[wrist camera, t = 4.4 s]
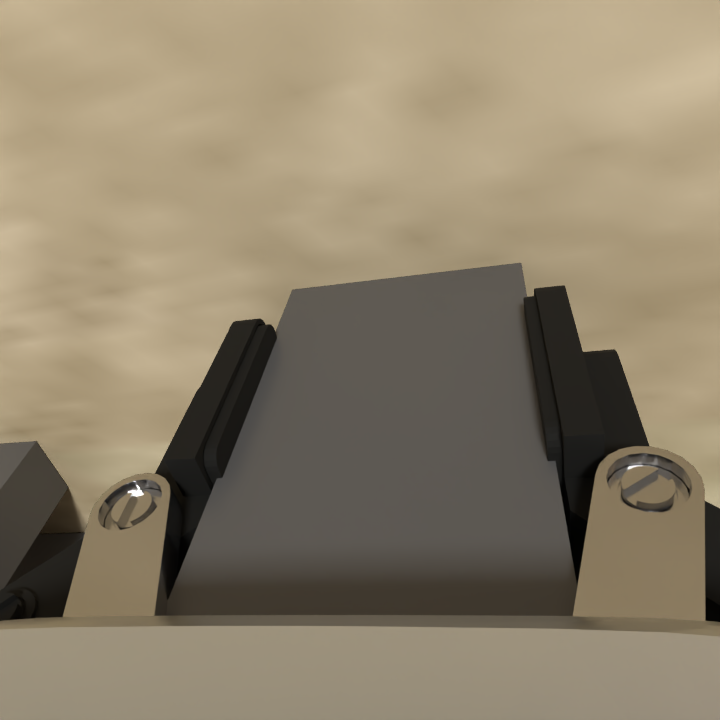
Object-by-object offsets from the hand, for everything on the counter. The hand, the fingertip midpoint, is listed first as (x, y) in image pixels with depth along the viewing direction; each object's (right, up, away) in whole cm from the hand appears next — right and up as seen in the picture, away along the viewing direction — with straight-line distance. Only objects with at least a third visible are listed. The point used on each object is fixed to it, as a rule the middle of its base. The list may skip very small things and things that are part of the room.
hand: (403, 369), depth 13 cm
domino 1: (0, +1, +2) cm, 2 cm away
